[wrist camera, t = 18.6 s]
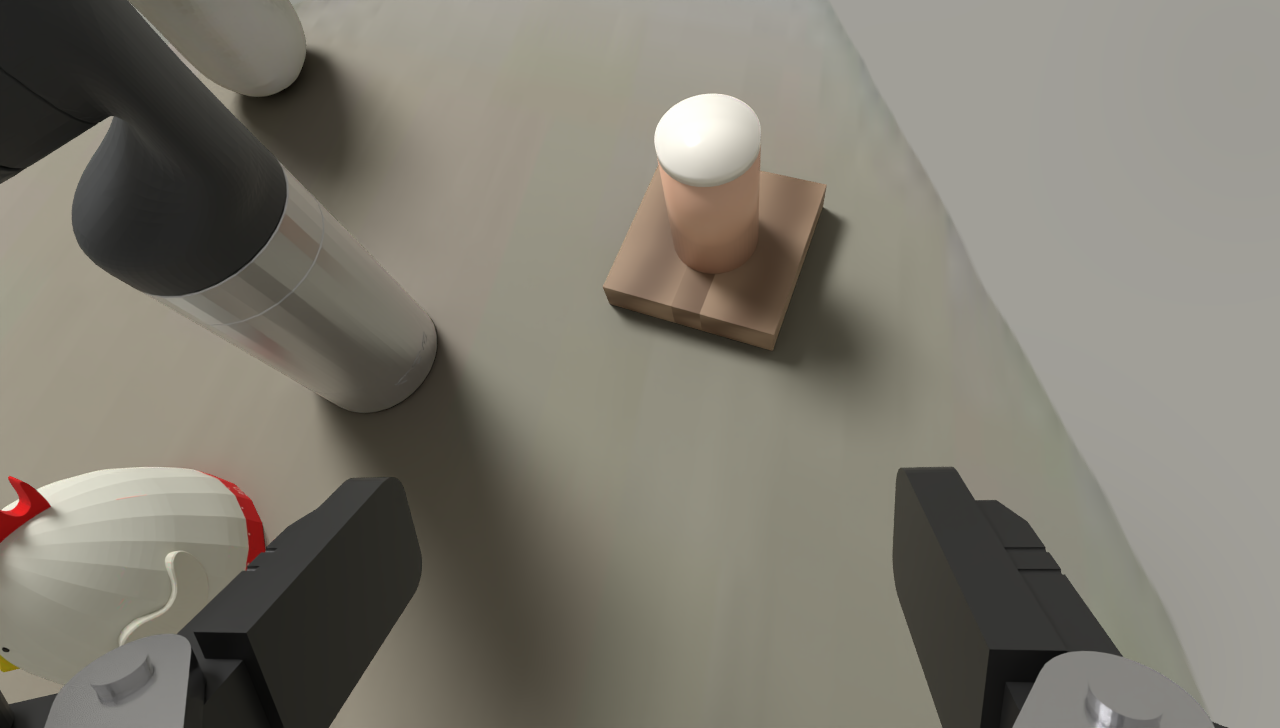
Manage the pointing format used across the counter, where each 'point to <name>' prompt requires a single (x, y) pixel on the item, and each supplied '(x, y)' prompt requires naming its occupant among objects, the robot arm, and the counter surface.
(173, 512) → the kitchen timer
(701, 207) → the terracotta canister
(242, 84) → the glass bottle
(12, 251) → the counter surface
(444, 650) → the counter surface
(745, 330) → the walnut board
